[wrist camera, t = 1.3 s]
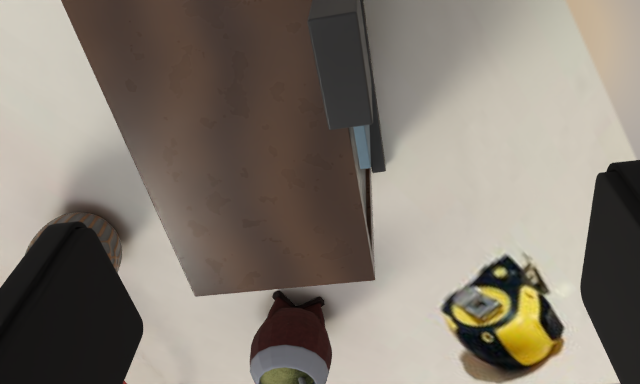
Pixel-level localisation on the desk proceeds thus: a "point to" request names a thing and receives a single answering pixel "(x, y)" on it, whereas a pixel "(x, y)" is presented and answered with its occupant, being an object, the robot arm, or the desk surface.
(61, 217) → the vase
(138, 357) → the desk surface
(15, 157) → the desk surface
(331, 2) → the sliding door
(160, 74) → the cabinet
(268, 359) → the mate gourd
